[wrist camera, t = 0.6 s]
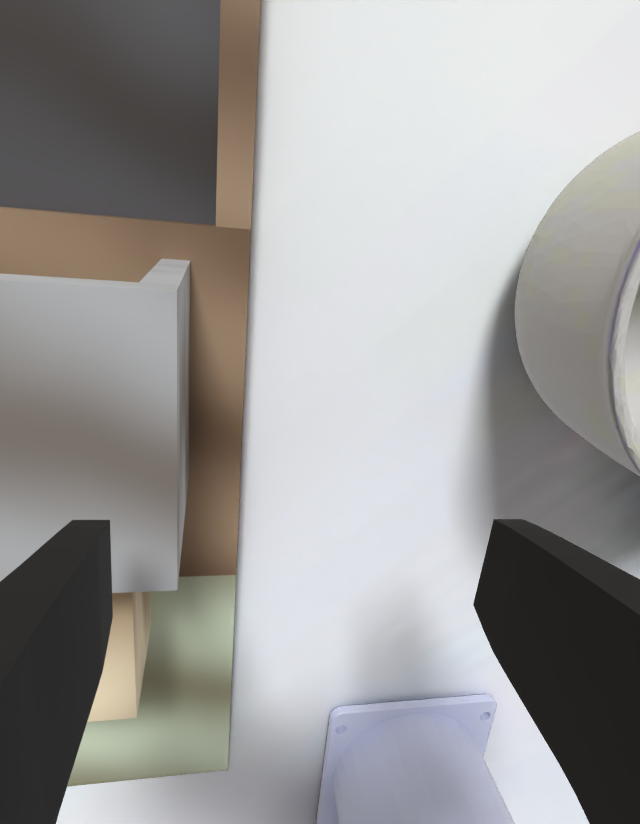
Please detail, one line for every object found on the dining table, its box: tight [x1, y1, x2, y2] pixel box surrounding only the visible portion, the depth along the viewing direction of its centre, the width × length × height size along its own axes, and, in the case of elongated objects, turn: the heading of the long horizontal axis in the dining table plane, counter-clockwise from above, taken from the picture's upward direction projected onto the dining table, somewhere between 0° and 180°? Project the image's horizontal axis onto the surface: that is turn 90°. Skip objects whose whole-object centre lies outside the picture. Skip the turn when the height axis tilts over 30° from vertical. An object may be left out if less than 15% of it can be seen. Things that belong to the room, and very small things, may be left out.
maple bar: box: [87, 591, 151, 722], centre depth 16 cm, size 9×4×4 cm, turn 175°
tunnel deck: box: [0, 0, 261, 786], centre depth 15 cm, size 31×10×7 cm, turn 175°
